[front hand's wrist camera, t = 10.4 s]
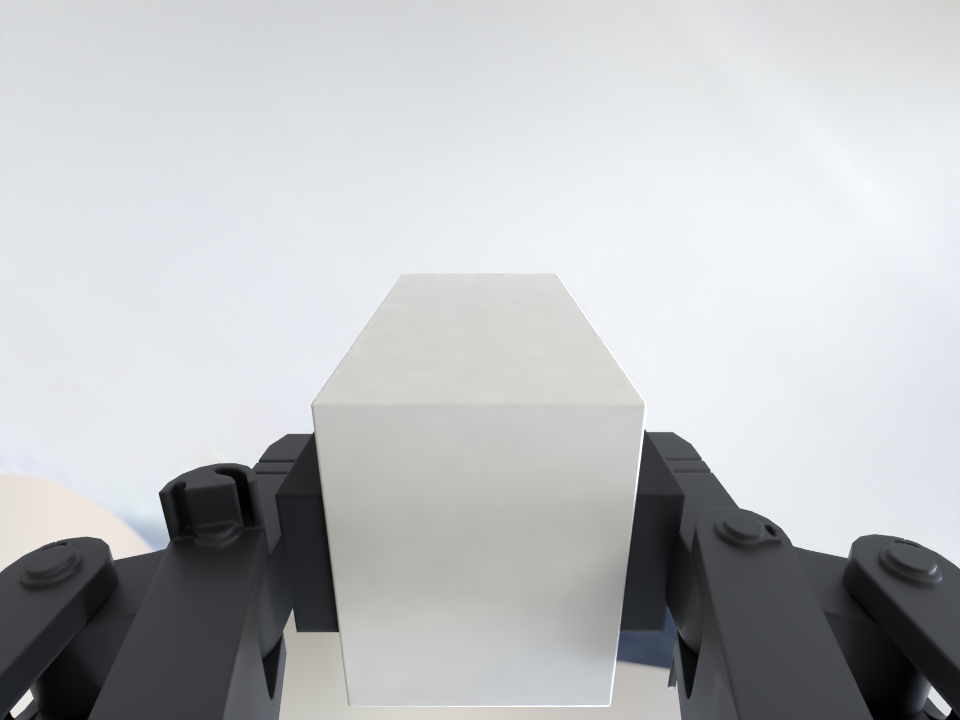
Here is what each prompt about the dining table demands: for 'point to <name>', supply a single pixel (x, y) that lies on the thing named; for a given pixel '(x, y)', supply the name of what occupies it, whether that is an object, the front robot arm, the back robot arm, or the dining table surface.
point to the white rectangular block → (479, 496)
